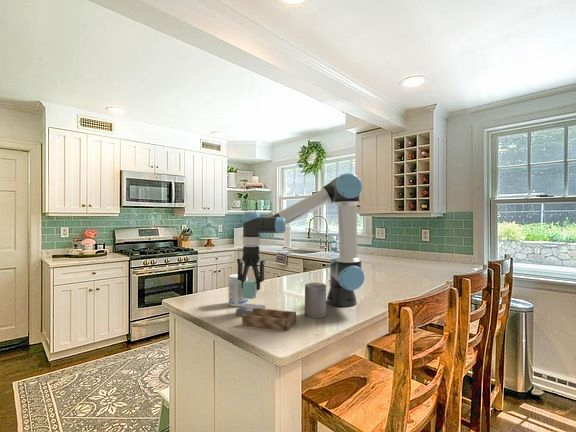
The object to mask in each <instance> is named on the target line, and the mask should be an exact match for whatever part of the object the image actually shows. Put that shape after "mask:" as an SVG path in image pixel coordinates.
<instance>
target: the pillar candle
mask: <svg viewBox="0 0 576 432" xmlns="http://www.w3.org/2000/svg"><path fill="white" fill-rule="evenodd" d="M326 315H327V285H326V284H325V283H322V282H316V281H315V282H308V283H305V284H304V316H305V317H306V318H310V319H322V318H325V317H326Z"/></svg>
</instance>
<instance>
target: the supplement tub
mask: <svg viewBox="0 0 576 432" xmlns="http://www.w3.org/2000/svg"><path fill="white" fill-rule="evenodd" d="M242 275H243V273H242ZM248 280H249V279H248V276H247V277H246V281H248ZM241 287H242V282H241V281H240V280H238V273H234V274H230V275H228V305H229V306H231V307H237V308H239V307H241V306H243V305H244V304H249V299H248V298H243V289H242V288H241Z"/></svg>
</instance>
